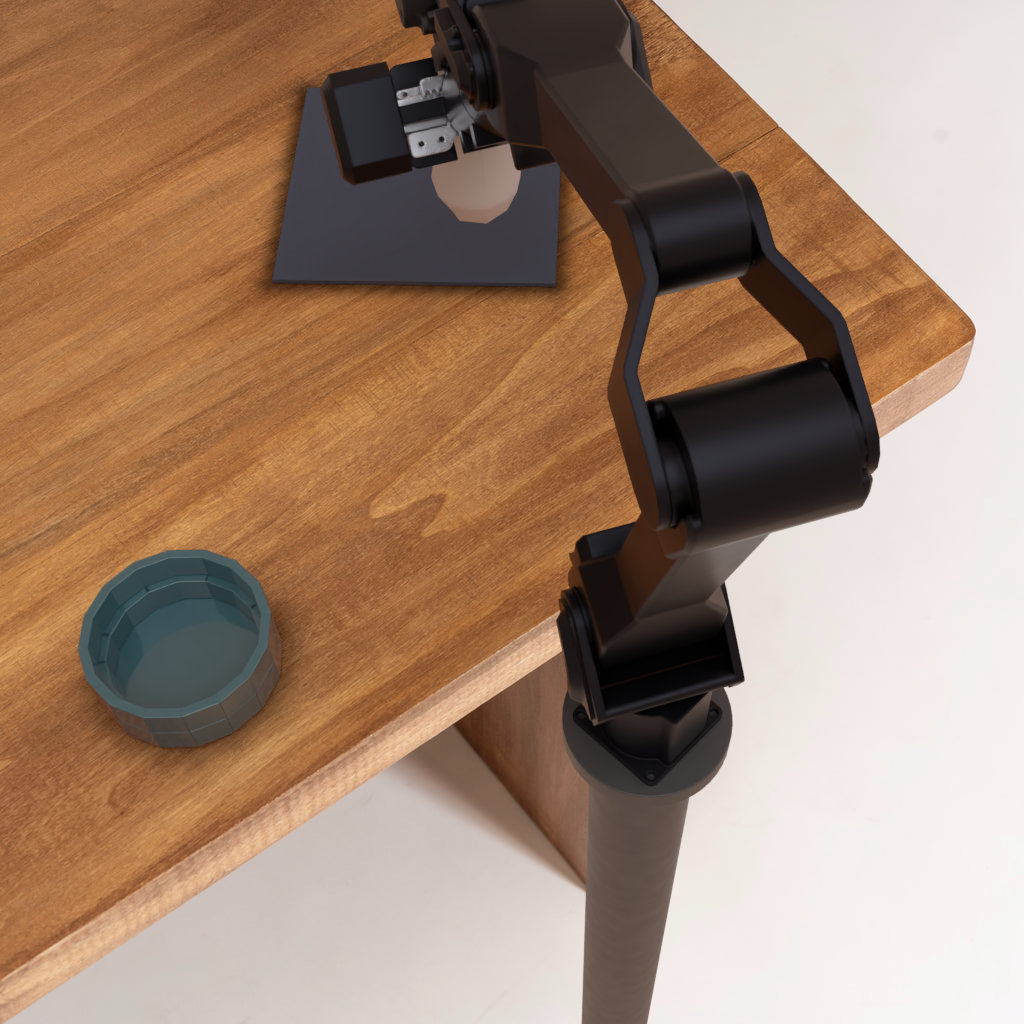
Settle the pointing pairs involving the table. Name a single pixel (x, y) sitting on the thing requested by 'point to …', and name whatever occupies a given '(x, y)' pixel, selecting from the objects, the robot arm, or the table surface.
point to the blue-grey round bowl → (181, 648)
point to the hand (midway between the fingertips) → (467, 111)
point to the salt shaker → (477, 182)
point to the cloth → (407, 225)
